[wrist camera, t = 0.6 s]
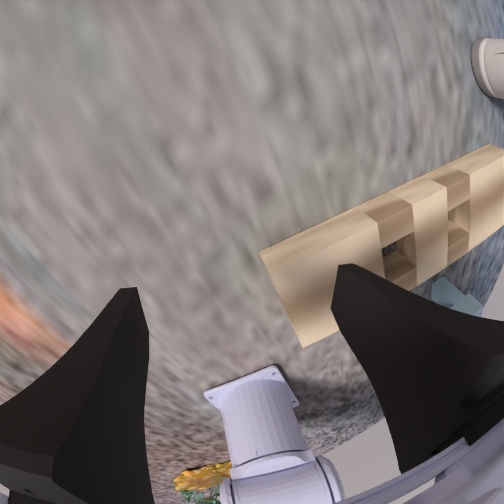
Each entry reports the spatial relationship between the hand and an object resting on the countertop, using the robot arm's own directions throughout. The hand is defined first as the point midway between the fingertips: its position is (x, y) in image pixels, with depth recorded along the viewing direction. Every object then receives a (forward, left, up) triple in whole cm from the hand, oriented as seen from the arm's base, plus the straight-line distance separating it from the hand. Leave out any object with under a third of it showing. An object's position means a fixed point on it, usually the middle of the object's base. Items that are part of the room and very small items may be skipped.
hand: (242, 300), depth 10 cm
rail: (-8, -14, -10) cm, 19 cm away
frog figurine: (-41, +25, -10) cm, 49 cm away
